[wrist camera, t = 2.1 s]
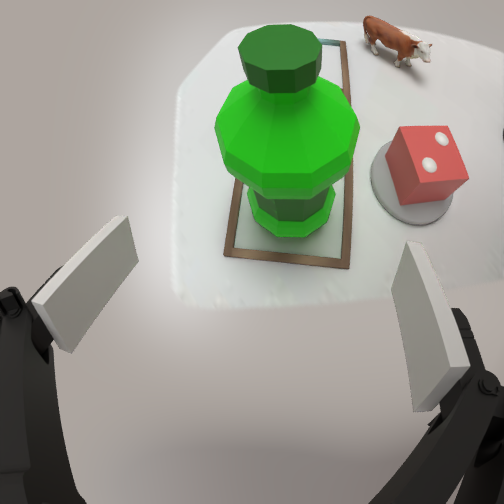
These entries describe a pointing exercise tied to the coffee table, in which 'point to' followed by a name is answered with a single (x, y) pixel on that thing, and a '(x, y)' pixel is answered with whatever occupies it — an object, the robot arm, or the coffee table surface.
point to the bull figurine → (395, 40)
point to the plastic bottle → (286, 131)
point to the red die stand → (418, 173)
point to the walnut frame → (348, 206)
